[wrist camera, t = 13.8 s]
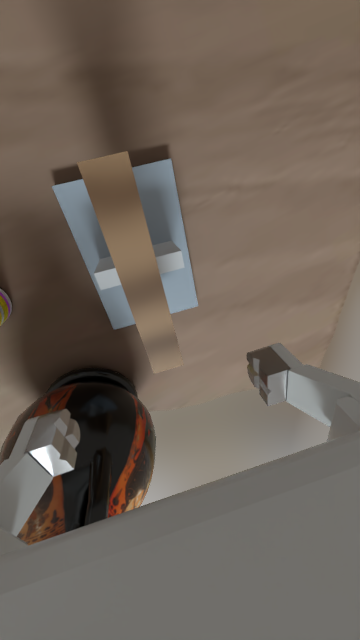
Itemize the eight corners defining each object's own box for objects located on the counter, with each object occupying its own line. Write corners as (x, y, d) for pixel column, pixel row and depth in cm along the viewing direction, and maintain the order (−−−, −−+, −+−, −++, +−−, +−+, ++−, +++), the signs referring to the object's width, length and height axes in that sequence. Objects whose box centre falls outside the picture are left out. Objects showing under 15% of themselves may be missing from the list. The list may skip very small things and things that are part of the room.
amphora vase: (125, 440, 51) (124, 654, 28) (18, 425, 43) (-118, 715, 19) (168, 370, 44) (217, 579, 20) (48, 336, 36) (-110, 625, 12)
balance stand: (55, 186, 27) (31, 183, 20) (168, 160, 28) (182, 149, 21) (114, 325, 37) (111, 354, 30) (195, 302, 38) (210, 325, 31)
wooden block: (89, 170, 20) (76, 162, 15) (127, 161, 21) (127, 151, 15) (149, 343, 31) (154, 373, 25) (174, 336, 31) (183, 364, 26)
